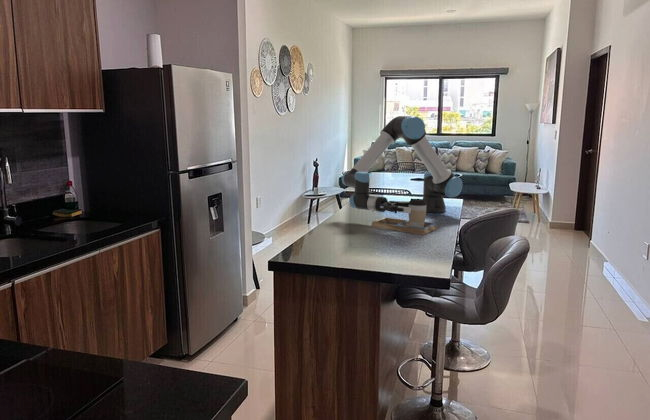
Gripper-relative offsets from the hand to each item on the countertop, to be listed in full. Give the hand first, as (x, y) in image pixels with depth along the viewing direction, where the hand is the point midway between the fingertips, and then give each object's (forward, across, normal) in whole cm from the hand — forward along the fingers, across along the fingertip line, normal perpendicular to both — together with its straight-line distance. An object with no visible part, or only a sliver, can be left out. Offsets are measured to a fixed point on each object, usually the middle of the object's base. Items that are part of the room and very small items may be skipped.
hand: (416, 208), depth 235 cm
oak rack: (-6, 0, -11) cm, 12 cm away
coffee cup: (0, 0, -10) cm, 11 cm away
